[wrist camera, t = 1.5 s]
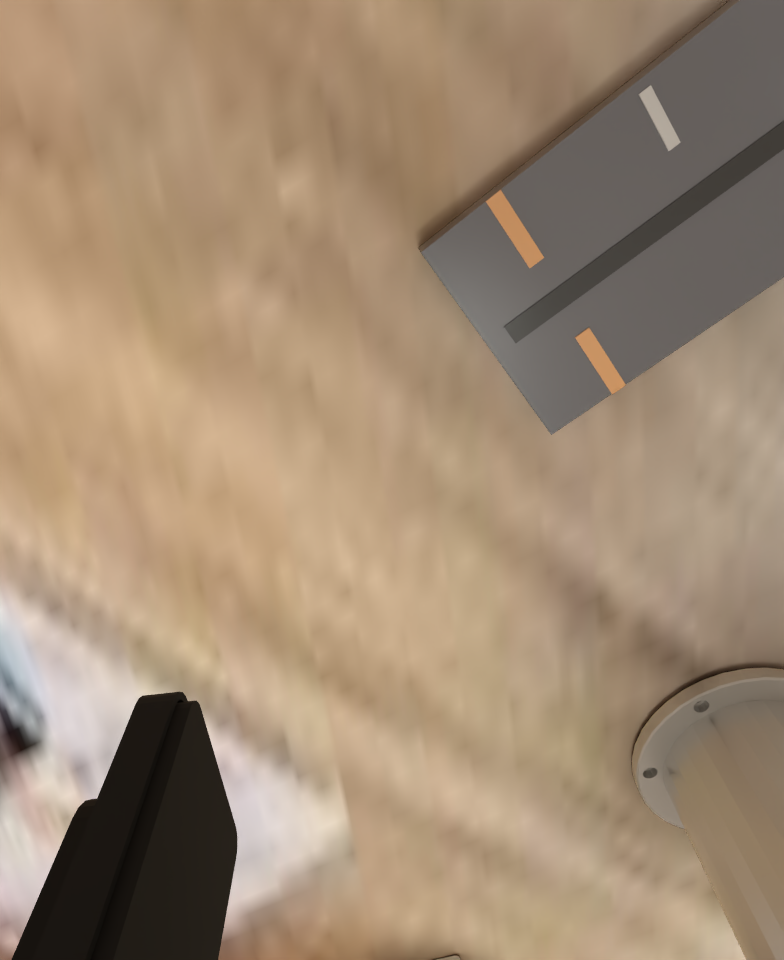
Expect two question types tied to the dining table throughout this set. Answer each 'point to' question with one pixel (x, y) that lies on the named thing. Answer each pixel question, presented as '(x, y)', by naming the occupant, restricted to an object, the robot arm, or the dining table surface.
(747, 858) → the robot arm
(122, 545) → the dining table surface
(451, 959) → the supplement box
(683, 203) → the fader board
